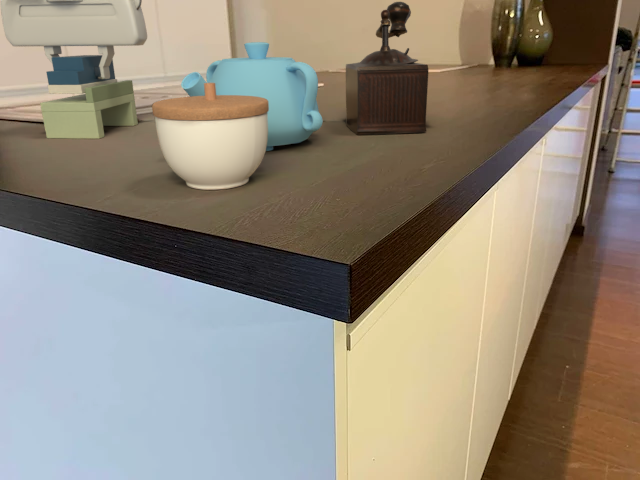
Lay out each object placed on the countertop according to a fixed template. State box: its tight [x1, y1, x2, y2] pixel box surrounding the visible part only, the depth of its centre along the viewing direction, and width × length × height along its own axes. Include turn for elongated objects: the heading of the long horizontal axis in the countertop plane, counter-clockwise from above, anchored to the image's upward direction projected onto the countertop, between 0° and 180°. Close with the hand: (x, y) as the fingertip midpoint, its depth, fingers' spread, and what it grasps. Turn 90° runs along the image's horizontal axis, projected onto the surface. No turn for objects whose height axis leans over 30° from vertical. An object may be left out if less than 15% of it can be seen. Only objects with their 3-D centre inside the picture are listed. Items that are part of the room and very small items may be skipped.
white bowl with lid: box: [151, 83, 269, 191], centre depth 51 cm, size 11×11×9 cm
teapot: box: [180, 41, 324, 152], centre depth 68 cm, size 20×20×13 cm
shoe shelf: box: [39, 79, 139, 140], centre depth 82 cm, size 8×13×7 cm, turn 174°
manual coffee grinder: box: [345, 1, 429, 135], centre depth 81 cm, size 16×11×18 cm
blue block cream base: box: [46, 54, 118, 95], centre depth 80 cm, size 11×5×5 cm, turn 174°
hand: (83, 79), depth 80 cm, fingers closed on blue block cream base, 5 cm apart
